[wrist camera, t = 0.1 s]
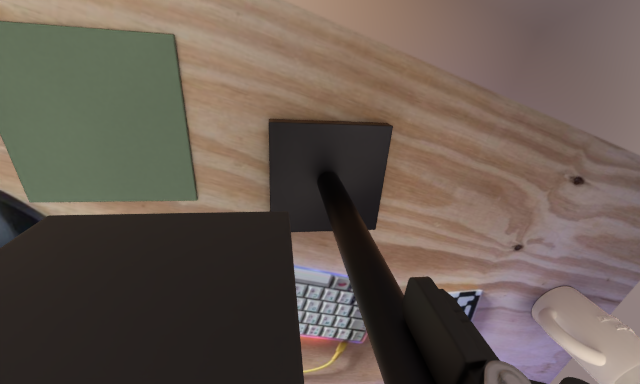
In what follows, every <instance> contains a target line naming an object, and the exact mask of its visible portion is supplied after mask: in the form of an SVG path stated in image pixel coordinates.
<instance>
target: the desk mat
mask: <svg viewBox="0 0 640 384" xmlns="http://www.w3.org/2000/svg"><path fill="white" fill-rule="evenodd" d="M0 134H1V137H2V139H3V141H4V144H5V146H6V148H7V151H8V153H9V155H10V158H11V160H12V162H13V165H14V167H15V169H16V172H17V174H18V176H19V179H20V181H21V183H22V186H23V188H24V190H25V193H26V195H27V197H28V200H29V202H106V201H196V200H197V192H196V185H195V178H194V171H193V164H192V156H191V149H190V142H189V135H188V128H187V121H186V114H185V107H184V100H183V93H182V86H181V79H180V72H179V65H178V58H177V50H176V43H175V36H174V35H173V34H160V33H148V32H135V31H122V30H109V29H96V28H83V27H70V26H57V25H44V24H31V23H18V22H5V21H0Z"/></svg>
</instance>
